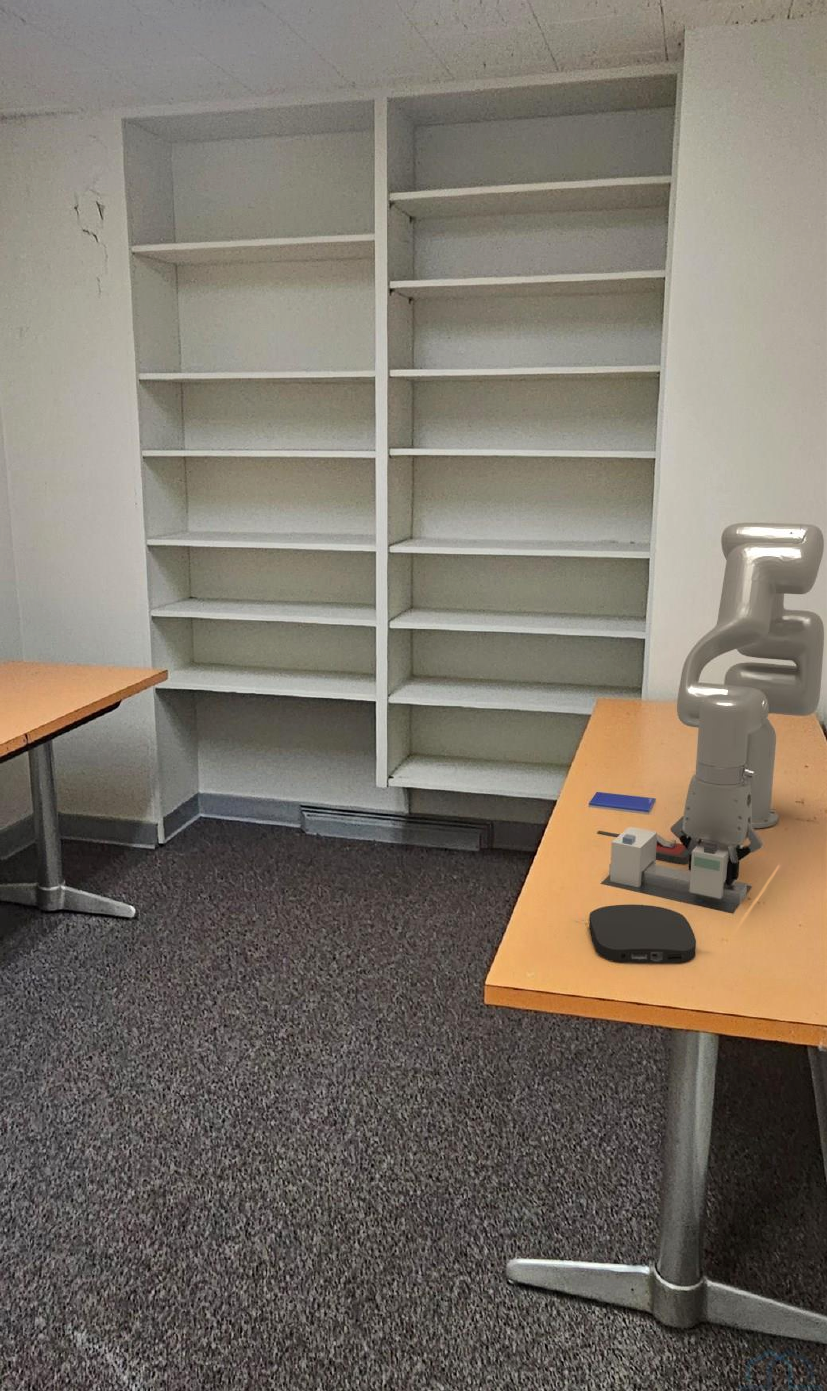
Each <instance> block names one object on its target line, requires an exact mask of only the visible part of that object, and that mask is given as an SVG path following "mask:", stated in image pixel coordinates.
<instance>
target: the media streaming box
mask: <svg viewBox="0 0 827 1391" xmlns="http://www.w3.org/2000/svg"><path fill="white" fill-rule="evenodd" d="M588 916H589V922H588V924H589V925H588V927H589V932H590V936H591V937H592V938H591V941H592V944H593V947H594V950H595V951H596V954H597V953H598V954H597V955H599V956H600V957H601V958H602V959H605V960H607V961H609V962H610V961H611V962H614V963H625V964H627V963H628V964H684V963H687V962H691V961H692V960H693V959H694V958H695V957H696V948H697V939H696V935H695V933H694V931H693V929H692V926H691V924H690V923H689V920H688V919H687V917H685V916H684V915H683V914H682V913H680V912H678V911H675V910H672V909H669V908H666V907H661V906H656V905H646V904H615V905H607V906H602V907H599V908H598V907H597V909H594V910H592V911H591V912H590V913H589V915H588Z"/></svg>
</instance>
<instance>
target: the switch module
mask: <svg viewBox="0 0 827 1391" xmlns="http://www.w3.org/2000/svg"><path fill="white" fill-rule="evenodd" d="M729 860H730V854H729V850H728V845H727V844H722V843H717V842H712V841H706V840H702V841H701V842H700V843H699V844H698V845H697V846H696V847H695V849H694V850H693V851H692V860H691V870H690V872H691V875H690V891H689V892H692V893H697V894H701V895H706V896H710V897H715V898H719V899H721V898H722V896H723V884H724V882H725V880H726V877H727V864H728V862H729Z"/></svg>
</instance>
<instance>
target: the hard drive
mask: <svg viewBox="0 0 827 1391" xmlns="http://www.w3.org/2000/svg"><path fill="white" fill-rule="evenodd" d="M656 802H657V800H656V798H655V797H645V796H638V795H629V794H627V795H626V794H621V793H609V792H602V791H601V792H600V791H596V792H595V794H594V795H593V796H592V798H591V799H590V801H589V802H588V808H593V809H600V810H608V811H615V812H616V811H618V812H626V813H632V814H633V813H634V814H641V815H648V816H649V815H650V814H651V812H652V809H653V808H654V806H655V805H656Z"/></svg>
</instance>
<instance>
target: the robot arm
mask: <svg viewBox="0 0 827 1391" xmlns="http://www.w3.org/2000/svg"><path fill="white" fill-rule="evenodd" d="M824 540H825V539H824V535H823V533H822V530H821V529H820V528H819V527H818V526H816V525H815V524H807V523H778V522H777V523H774V522H739V523H735V524H733V523H732V524H731V525H728V526H726V527H725V528H724V530H723V532H722V534H721V540H720V542H721V550H722V553H723V556H724V558H725V561H726V562H725V568H724V576H723V582H722V587H721V594H720V601H719V608H718V615H717V621H716V625H715V626H714V627H713V628H712V629H711V630H709V632H707V633H706V634H705V635H703V636H702V637H701V638H700V639H699V640H698V641H697V642H696V644H695V645H694V646H693V647H692V648H691V650H690V651H689V653H688V655H687V657H686V658H685V661H684V663H683V666H682V669H681V676H680V680H679V687H678V694H677V700H676V702H677V703H676V712H677V716H678V717H677V718H678V719H679V721H680V722H681V723H682V724H683V725H685V726H688V727H690V728H696V729H697V728H698V729H697V730H698V732H697V733H698V734H697V746H696V760H695V761H696V763H695V764H696V765H695V773H694V774H693V775H692V777H691V779H690V782H689V785H688V790H687V793H686V799H685V804H684V812H683V815H682V816H681V817H680V818H679V819H678V820H677V821H676V822H675V823H674V824H673V825H672V826H671V827H670V829H669V830H670V832H671V833H672V834H673V835H674V836H675V837H676V838H677V839H679V841H680V842H681V843H680V844H683V845H684V846H685V848H686V849H687V852H688V853H689V854H690V855H689V861H688V871H691V860H692V851H693V850H694V849H695V847H696V846H697V845H698V844H699V843H700V842H701V841H702V840H706V841H712V842H717V843H722V844H727V845H728V850H729V854H730V860H729V862H728V864H727V877H726V884H727V885H728V886H730V885H731V884H732V883H733V882H734V881H737V880H738V878H739V874H740V861H741V860H743V859H744V858H746V857H747V856H748V855H750V854H752V853H754V852H756V851H758V850H760V849H761V848H762V847H763V845H764V842H763V840H762V839H761V838H760V836H759V835H758V832H756V830H755V829H764V828H769V827H773V826H775V825H777V823H778V822H779V813H777V812H776V811H775V810H774V809H771V807H772V796H773V794H772V793H773V784H774V783H773V782H774V771H775V759H776V758H775V757H776V747H777V746H776V745H777V734H776V731H775V728H774V726H773V724H772V723H771V721H770V719H768V718H769V714H773V715H781V716H782V715H785V716H796V717H797V716H798V717H805V716H806V717H807V716H810V715H812V714H814V713H815V712H816V710H817V708H818V706H819V703H820V696H821V689H822V688H821V687H822V676H823V675H822V673H823V660H824V646H825V628H824V622H823V620H822V618H821V616H819V614H817V613H816V612H813V611H810V610H799V609H787V608H785V606H784V603H785V594H789V595H805V594H807V593H809V592H810V591H811V590H813V587H814V585H815V583H816V580H817V577H818V574H819V569H820V566H821V563H822V560H823V554H824V549H825V541H824ZM734 650H736V651H737V652H738V653H739V654H740V655H742V656H745V657H749V658H756V659H767V660H768V659H769V660H778V661H779V660H780V661H781V660H782V661H789V662H791V661H792V662H794V664H795V665H792V664H791V665H789V664H776V663H769V662H767V663H765V662H749V661H747V662H739V663H736V664H734V665H732V666H730V667H729V668H728V669H727V670H726V672H725V675H724V680H723V684H722V683H711V682H699V681H700V677H701V673H702V672H703V669H704V668H705V667H706V666H707V665H708V664H709V663H710V662H712V660H714V659H716V658H717V657H719V656H721V655H724V654H726V653H729V652H732V651H734ZM746 839H748V840H749V842H750V843H748V844H746V845H745V842H746ZM743 844H744V846H743V847H742V845H743Z"/></svg>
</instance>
